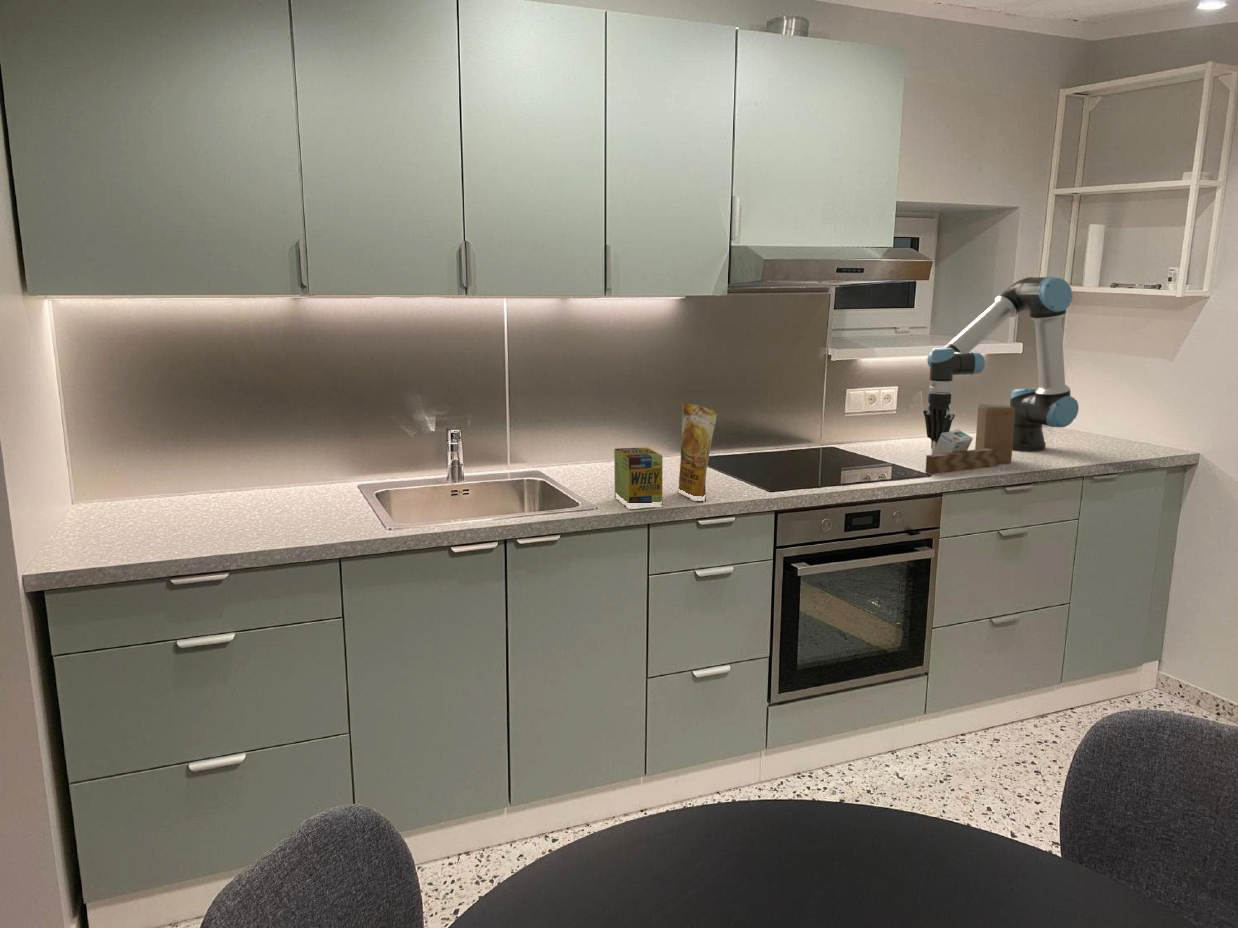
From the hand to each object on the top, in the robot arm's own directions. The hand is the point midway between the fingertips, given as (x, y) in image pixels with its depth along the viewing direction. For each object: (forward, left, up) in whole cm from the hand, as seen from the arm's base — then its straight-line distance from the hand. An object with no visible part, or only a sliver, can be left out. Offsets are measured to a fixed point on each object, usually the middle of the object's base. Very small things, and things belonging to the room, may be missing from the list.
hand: (935, 458), depth 327 cm
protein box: (+120, +4, -2) cm, 120 cm away
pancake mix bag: (+101, +5, -2) cm, 101 cm away
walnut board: (0, +12, -2) cm, 12 cm away
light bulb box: (0, +4, 0) cm, 4 cm away
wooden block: (-20, +7, -2) cm, 21 cm away
